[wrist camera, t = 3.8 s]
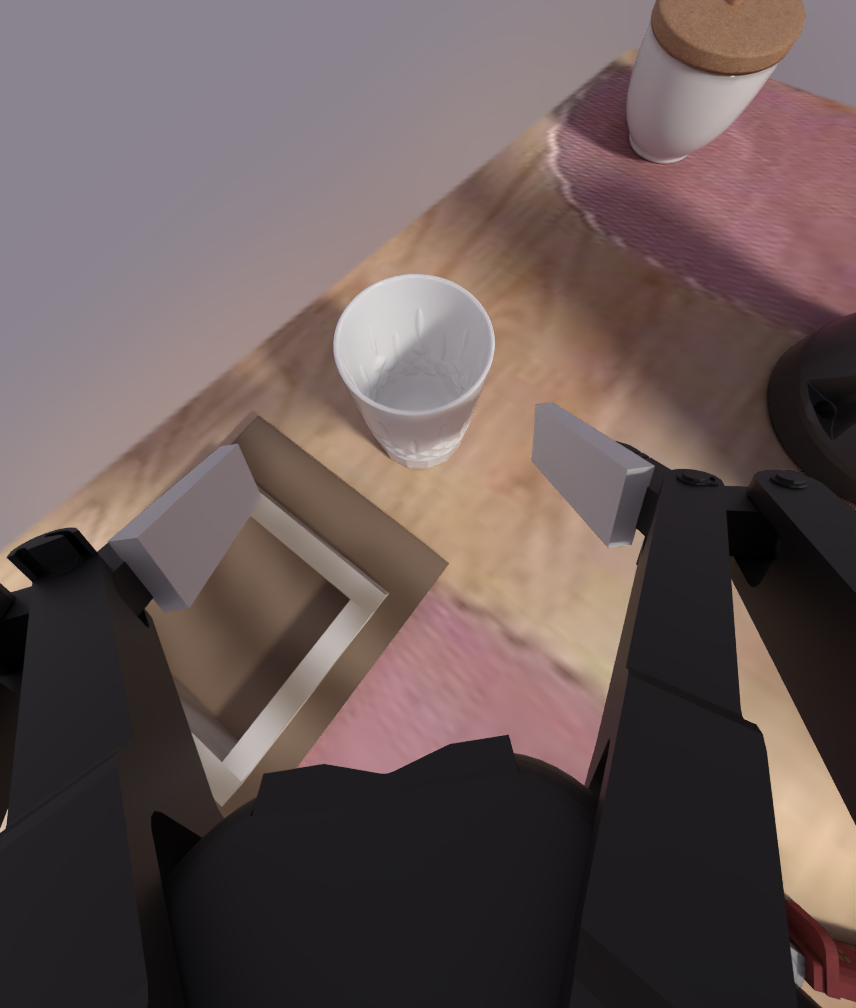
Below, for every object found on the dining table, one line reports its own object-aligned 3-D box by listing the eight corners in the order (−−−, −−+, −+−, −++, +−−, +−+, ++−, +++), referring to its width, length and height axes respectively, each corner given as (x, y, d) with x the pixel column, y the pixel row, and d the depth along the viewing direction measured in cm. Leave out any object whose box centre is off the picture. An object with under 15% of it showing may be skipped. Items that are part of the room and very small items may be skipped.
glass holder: (266, 422, 26) (243, 401, 23) (448, 563, 23) (450, 562, 20) (43, 659, 22) (-20, 673, 19) (231, 854, 20) (193, 906, 17)
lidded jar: (586, 155, 31) (650, -17, 22) (631, 86, 33) (708, -99, 24) (692, 199, 30) (806, 36, 21) (733, 125, 32) (854, -54, 23)
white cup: (392, 493, 25) (367, 440, 15) (355, 405, 26) (310, 304, 16) (487, 453, 25) (523, 377, 15) (445, 370, 27) (454, 252, 17)
